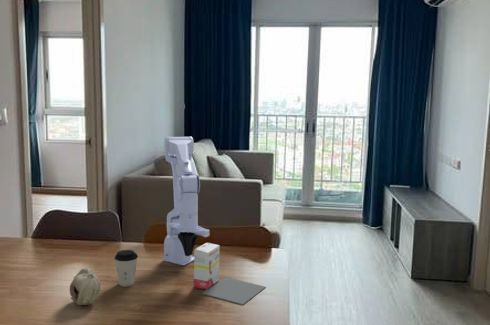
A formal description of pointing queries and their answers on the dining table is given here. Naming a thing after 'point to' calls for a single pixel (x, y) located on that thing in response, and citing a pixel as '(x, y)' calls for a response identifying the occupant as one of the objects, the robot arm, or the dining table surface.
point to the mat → (234, 290)
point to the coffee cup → (126, 267)
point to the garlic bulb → (84, 287)
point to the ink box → (206, 265)
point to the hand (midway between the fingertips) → (188, 255)
